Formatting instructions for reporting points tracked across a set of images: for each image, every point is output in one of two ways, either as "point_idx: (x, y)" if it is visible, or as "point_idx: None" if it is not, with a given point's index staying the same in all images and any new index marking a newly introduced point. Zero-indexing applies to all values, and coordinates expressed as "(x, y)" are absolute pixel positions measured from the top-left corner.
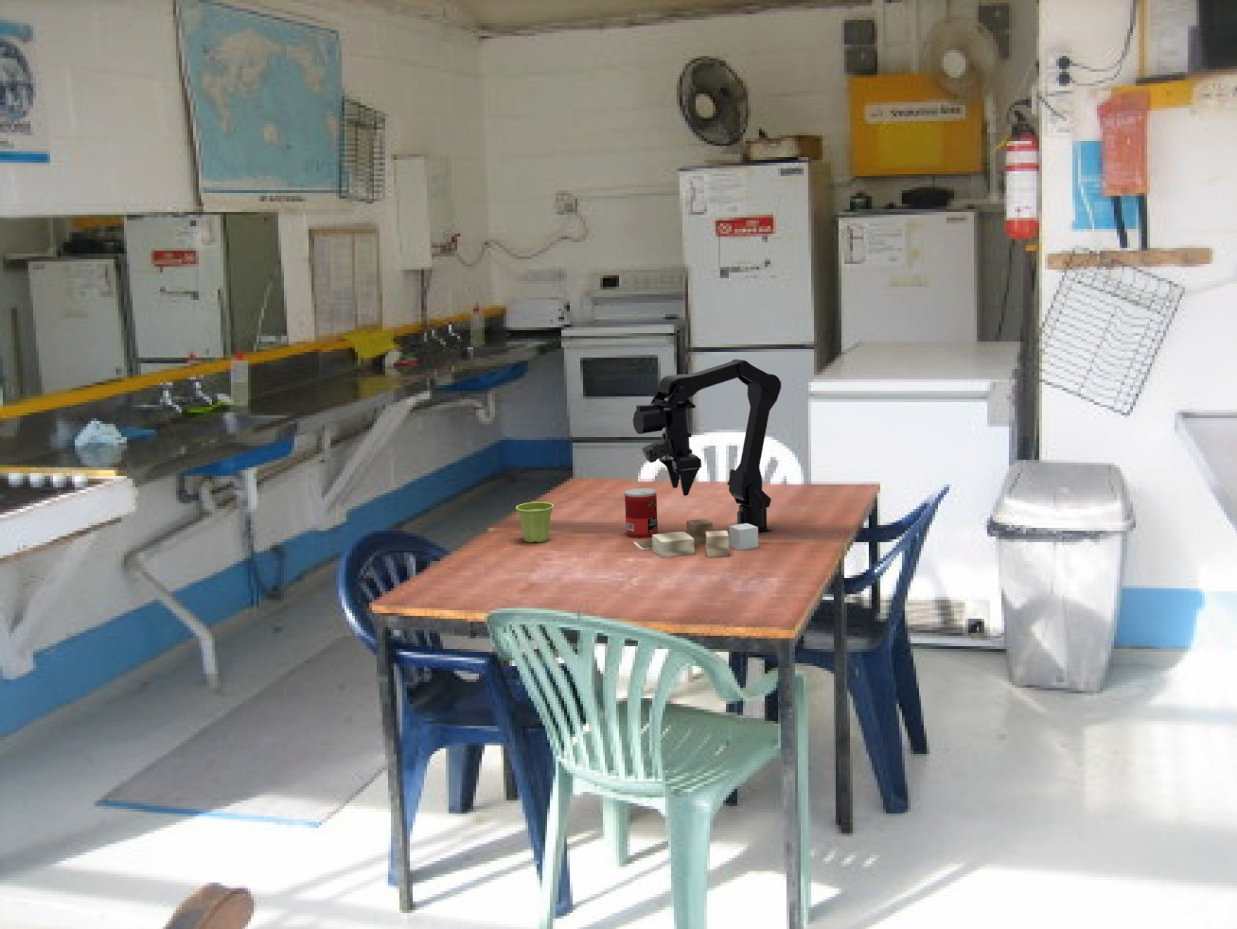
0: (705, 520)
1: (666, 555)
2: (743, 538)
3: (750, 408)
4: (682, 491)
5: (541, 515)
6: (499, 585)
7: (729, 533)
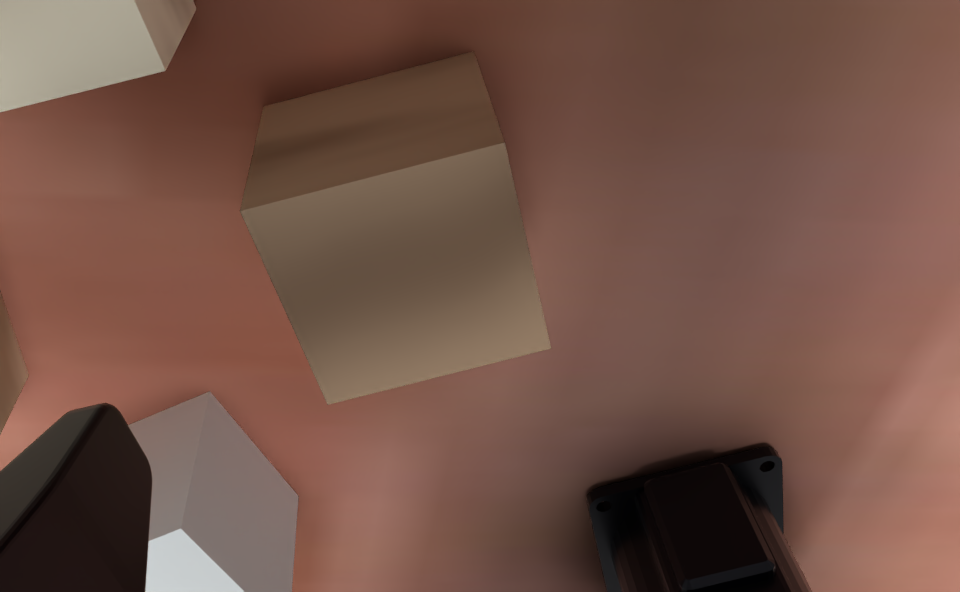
0: (462, 343)
1: None
2: None
3: None
4: (57, 456)
5: None
6: None
7: (190, 472)
